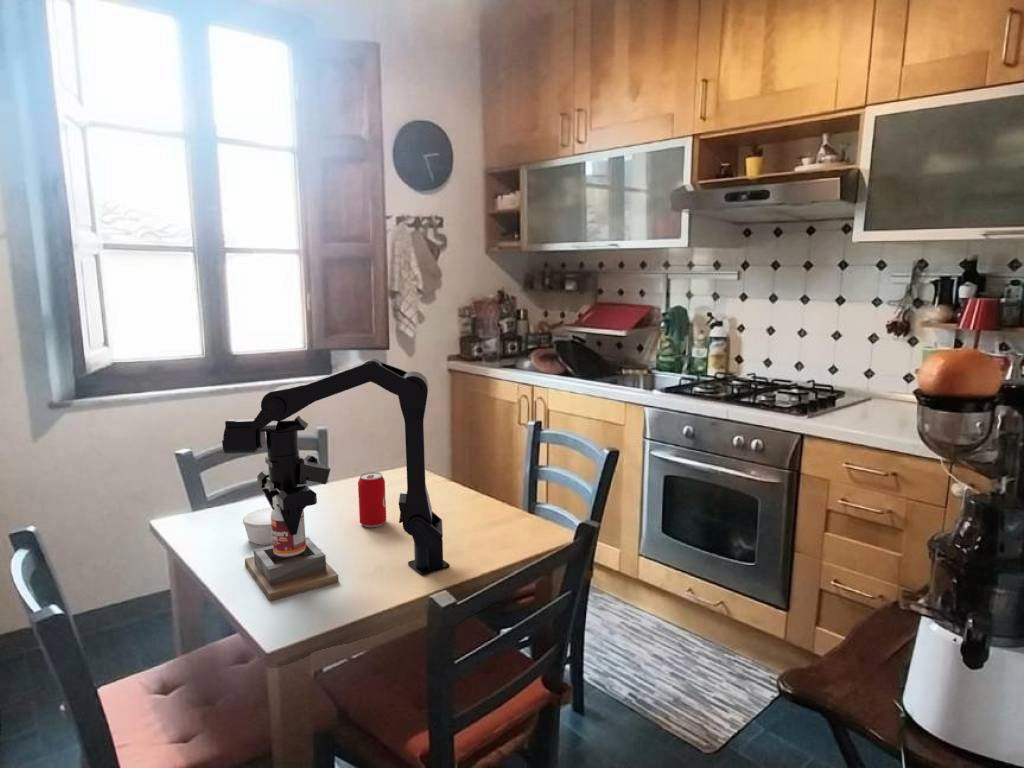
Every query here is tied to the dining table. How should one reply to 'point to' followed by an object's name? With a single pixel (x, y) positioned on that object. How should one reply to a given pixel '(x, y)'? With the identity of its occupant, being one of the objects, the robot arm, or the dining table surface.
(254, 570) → the socket board
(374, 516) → the beverage can
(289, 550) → the pill bottle
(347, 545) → the dining table surface
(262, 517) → the ramekin
